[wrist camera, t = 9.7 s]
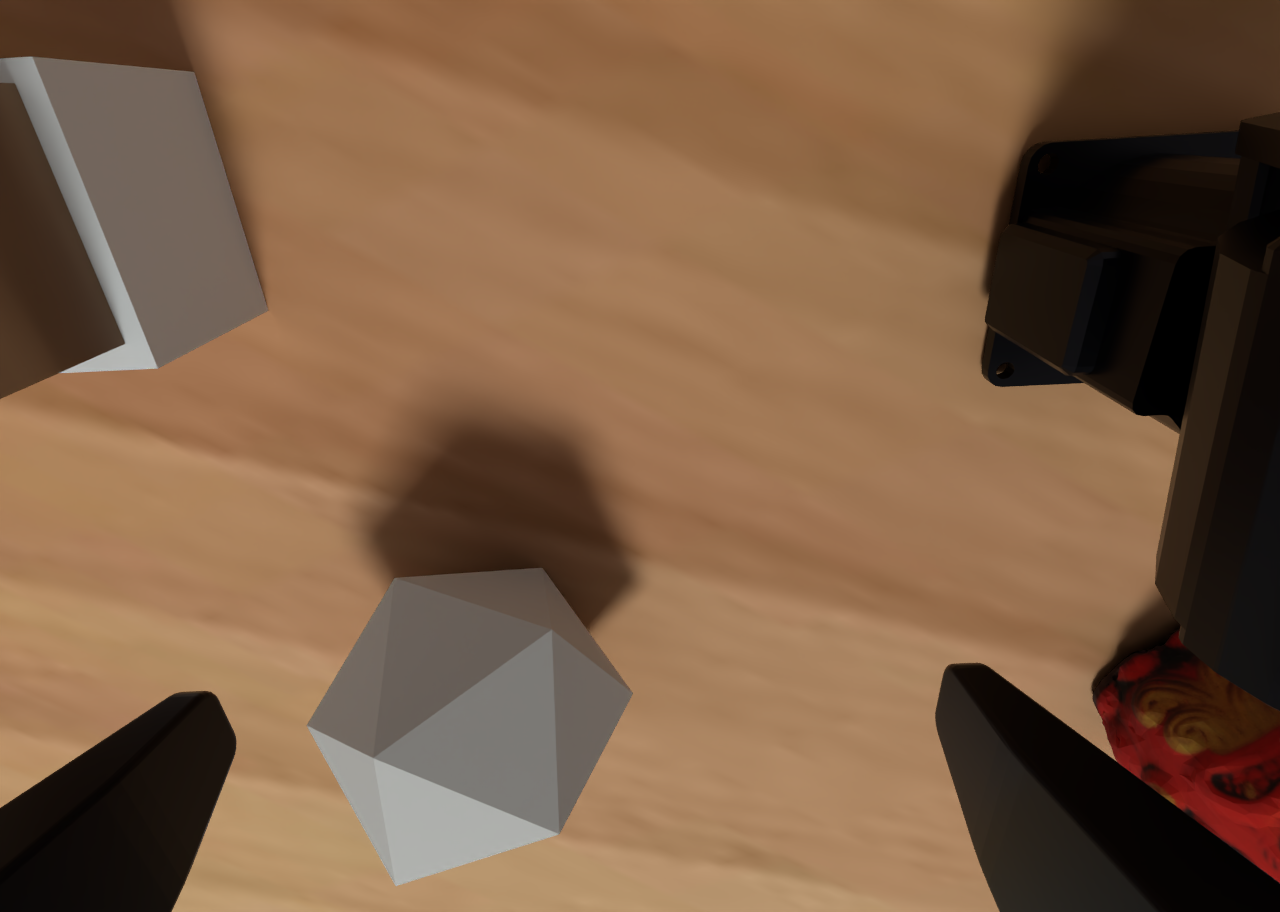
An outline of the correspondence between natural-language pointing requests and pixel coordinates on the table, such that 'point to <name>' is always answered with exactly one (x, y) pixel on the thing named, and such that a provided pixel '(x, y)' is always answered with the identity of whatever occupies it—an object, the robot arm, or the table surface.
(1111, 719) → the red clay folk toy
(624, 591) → the table surface
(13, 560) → the table surface
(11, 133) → the brown cube
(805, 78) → the table surface
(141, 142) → the grey block
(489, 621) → the die
